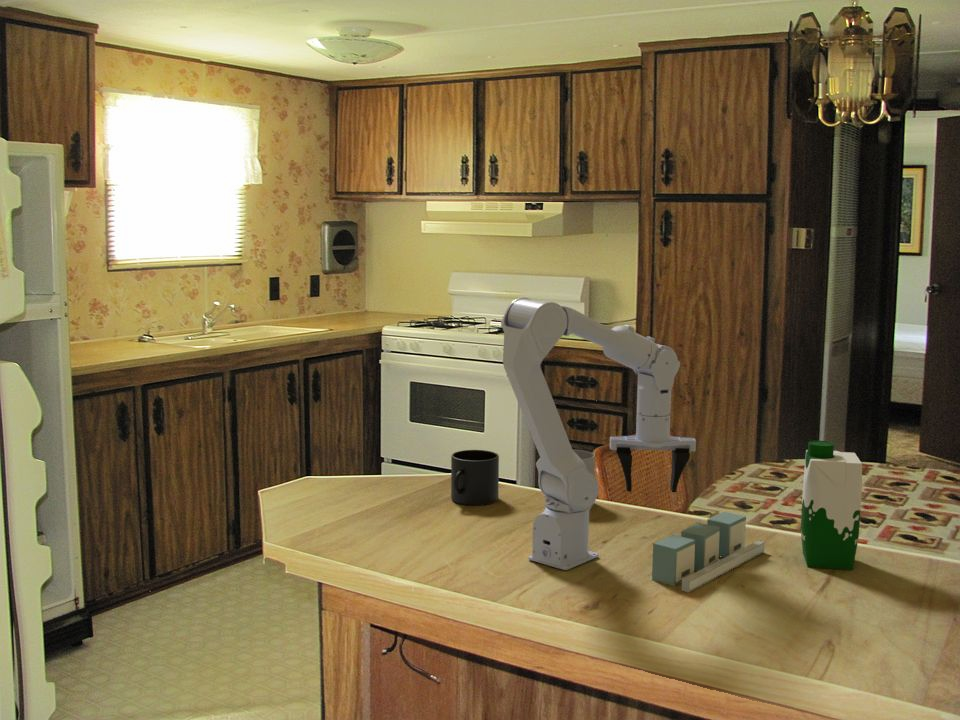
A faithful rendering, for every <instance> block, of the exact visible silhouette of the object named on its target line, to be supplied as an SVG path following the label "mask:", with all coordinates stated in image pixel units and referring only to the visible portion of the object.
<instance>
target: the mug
mask: <svg viewBox="0 0 960 720" xmlns="http://www.w3.org/2000/svg"><path fill="white" fill-rule="evenodd" d="M450 457H451V459H450V463H451V464H450V465H451V466H450V467H451V469H450V470H451V471H450V472H451V474H450V475H451V476H450V477H451V479H450V482H451V484H450V486H451V487H450V498H451V500H452V502H454V503H457V504H459V505H462V506H463V505H465V506H475V507H476V506H486V505H490V504H494V503H496V502H497V501H498V500H499V488H500V487H499V483H500V482H499V480H500V479H499V475H500V474H499V471H500V467H499V466H500V456H499V454H498V453H496V452H494V451H489V450H486V449H485V450H484V449H467V450H466V449H465V450H459V451H456V452H454V453H452V454H451V455H450Z"/></svg>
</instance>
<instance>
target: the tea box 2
mask: <svg viewBox="0 0 960 720" xmlns="http://www.w3.org/2000/svg"><path fill="white" fill-rule="evenodd" d="M680 536H681V537H685V538H690V539H694V540H695V560H694V569H695V570H694V571H697V570H701V569H703V568H705V567H707V566H709V565H711V564H713V563H715V562H717V561H719V560H720V557H719V536H720V527H717V526H712V525H707V523H703V522H702V523H701V522H696V523H694V524H692V525H690V526H688V527H686V528H685V529H683V530H682V531H681V532H680Z"/></svg>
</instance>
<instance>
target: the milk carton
mask: <svg viewBox="0 0 960 720" xmlns="http://www.w3.org/2000/svg"><path fill="white" fill-rule="evenodd" d="M834 449H835V445H834V443H833V442H831V441H826V440H809V441H808V443H807V449H806V450H805V460H804V469H803V471H804V472H803V484H802V496H801V498H802V499H801V515H800V516H801V517H800V518H801V519H800V535H801V537H800V538H801V545H802V547H801V548H802V554H803V557H804V560H805V564H806V566H807V568H819V569H820V568H821V569H822V568H823V569H832V570H834V569H835V570H849V571H853V569H854V566H855V565H854V564H855V559H856V555H857V550H858V543H859V537H860V525H861V509H862V494H863V493H862V490H863V463H862V461H861V460H860V458H859V457H858V456H857V454H856V452H848V451H847V452H846V451H840V450H839V451H838V450H834Z"/></svg>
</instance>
